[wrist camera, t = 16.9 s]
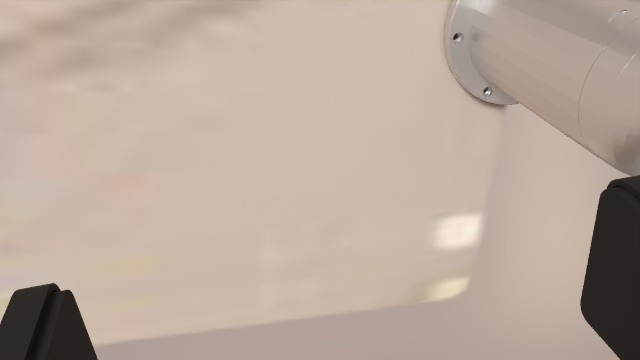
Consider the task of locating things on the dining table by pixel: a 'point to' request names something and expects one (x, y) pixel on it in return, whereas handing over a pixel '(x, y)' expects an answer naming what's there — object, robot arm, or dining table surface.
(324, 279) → the dining table surface
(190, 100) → the dining table surface
